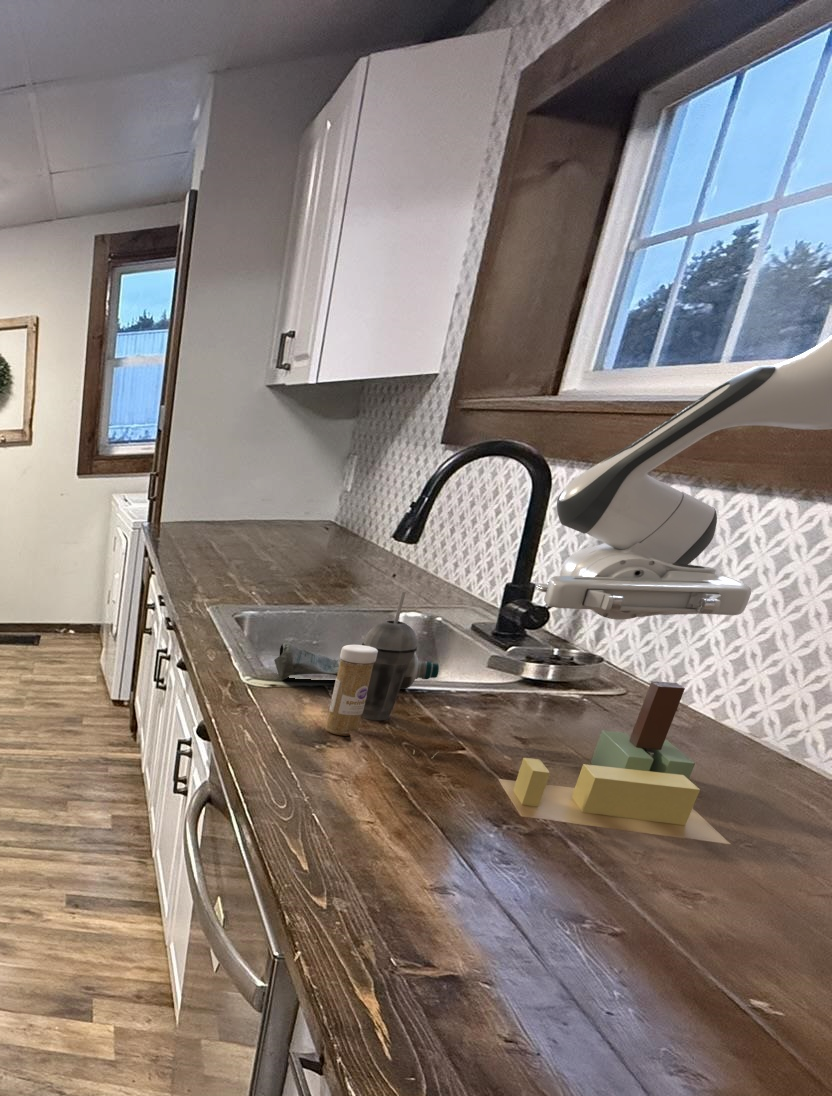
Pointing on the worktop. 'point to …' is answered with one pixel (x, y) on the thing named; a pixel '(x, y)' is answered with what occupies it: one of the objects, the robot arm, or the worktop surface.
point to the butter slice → (531, 782)
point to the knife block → (639, 756)
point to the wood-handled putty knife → (656, 715)
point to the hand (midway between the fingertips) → (662, 605)
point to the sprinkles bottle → (350, 689)
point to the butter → (635, 794)
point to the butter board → (564, 809)
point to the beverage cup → (388, 664)
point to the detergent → (311, 663)
